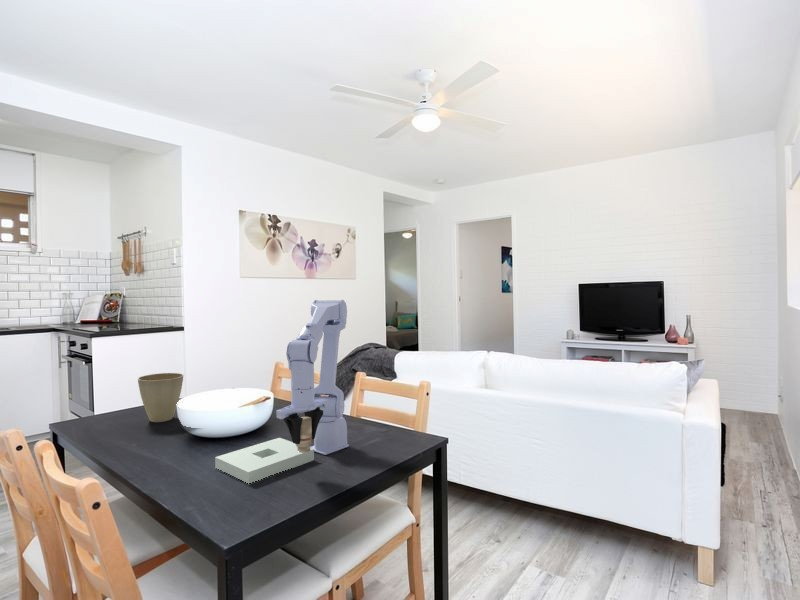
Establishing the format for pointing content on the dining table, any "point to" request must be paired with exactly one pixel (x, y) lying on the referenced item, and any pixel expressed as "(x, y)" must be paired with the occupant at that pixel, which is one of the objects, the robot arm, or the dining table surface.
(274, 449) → the board
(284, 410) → the robot arm
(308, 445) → the peg
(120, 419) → the dining table surface
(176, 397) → the plant pot
